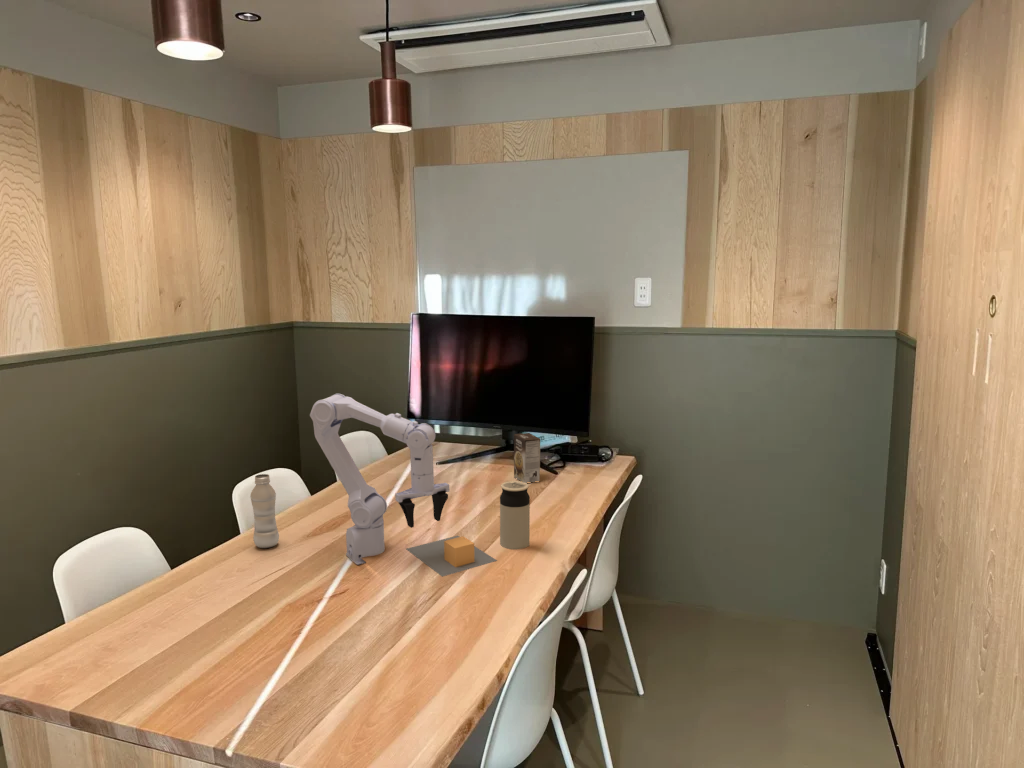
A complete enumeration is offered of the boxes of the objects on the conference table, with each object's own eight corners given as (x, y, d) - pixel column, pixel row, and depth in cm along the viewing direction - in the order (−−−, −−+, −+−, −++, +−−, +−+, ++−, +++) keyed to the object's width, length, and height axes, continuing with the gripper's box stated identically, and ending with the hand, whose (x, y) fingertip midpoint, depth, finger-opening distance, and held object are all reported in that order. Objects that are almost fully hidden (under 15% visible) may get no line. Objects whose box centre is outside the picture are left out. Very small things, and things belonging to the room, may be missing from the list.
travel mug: (526, 555, 184) (526, 490, 180) (497, 553, 185) (497, 488, 182) (531, 543, 191) (532, 481, 188) (503, 541, 193) (503, 479, 190)
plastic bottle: (271, 551, 186) (267, 480, 182) (248, 549, 187) (243, 478, 184) (284, 542, 192) (280, 473, 189) (262, 540, 193) (257, 471, 190)
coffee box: (513, 477, 250) (513, 434, 247) (529, 475, 253) (529, 432, 250) (524, 484, 242) (524, 439, 239) (540, 482, 245) (540, 437, 242)
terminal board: (442, 582, 168) (442, 562, 167) (405, 554, 185) (405, 536, 184) (497, 566, 177) (497, 547, 176) (457, 540, 193) (457, 523, 193)
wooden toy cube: (455, 567, 173) (455, 548, 172) (444, 559, 178) (444, 541, 177) (474, 561, 176) (474, 543, 175) (463, 554, 181) (463, 536, 180)
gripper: (403, 481, 169) (405, 534, 171) (454, 470, 177) (456, 521, 179) (390, 474, 175) (393, 525, 177) (441, 464, 183) (442, 513, 185)
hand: (424, 523), depth 178 cm, fingers open, 7 cm apart
